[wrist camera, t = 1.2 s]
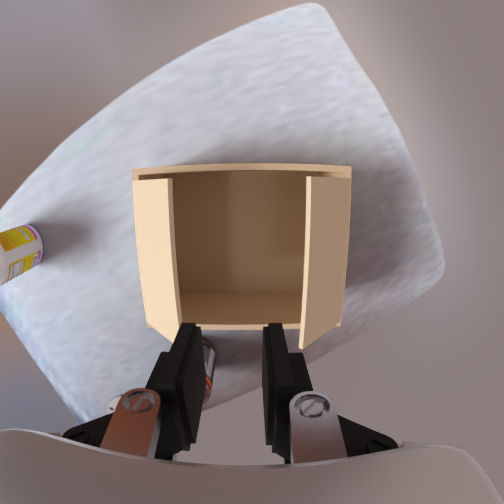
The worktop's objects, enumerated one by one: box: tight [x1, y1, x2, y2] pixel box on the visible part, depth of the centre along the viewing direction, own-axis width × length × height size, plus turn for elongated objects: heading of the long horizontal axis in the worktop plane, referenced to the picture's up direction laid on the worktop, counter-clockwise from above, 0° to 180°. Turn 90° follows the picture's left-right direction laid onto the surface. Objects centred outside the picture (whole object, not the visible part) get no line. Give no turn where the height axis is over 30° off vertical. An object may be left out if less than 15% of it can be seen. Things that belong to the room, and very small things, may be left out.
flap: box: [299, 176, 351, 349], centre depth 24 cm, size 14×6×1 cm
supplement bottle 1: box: [0, 225, 43, 286], centre depth 30 cm, size 7×7×13 cm
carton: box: [132, 163, 351, 330], centre depth 31 cm, size 16×20×9 cm
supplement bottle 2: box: [202, 338, 216, 404], centre depth 35 cm, size 6×6×11 cm
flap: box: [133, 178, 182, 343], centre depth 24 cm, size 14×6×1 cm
